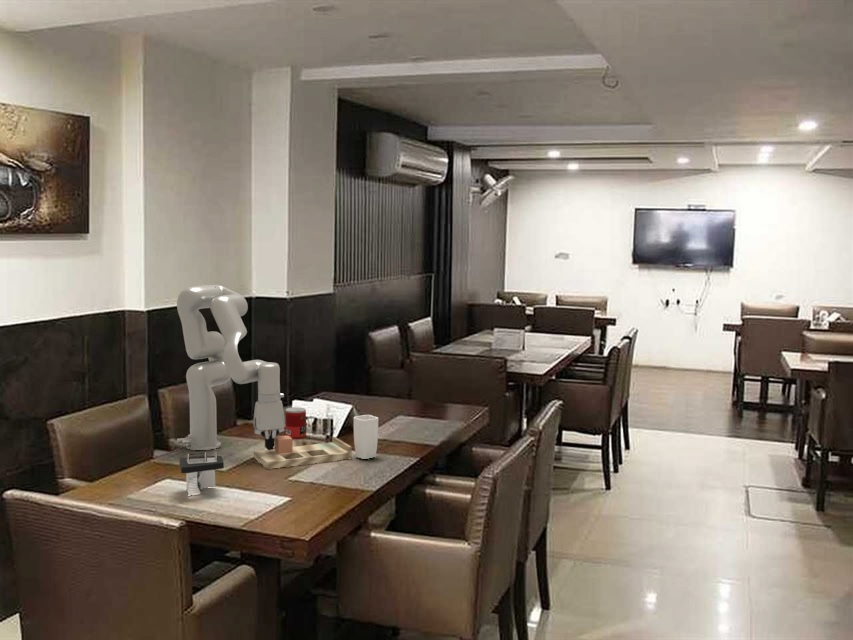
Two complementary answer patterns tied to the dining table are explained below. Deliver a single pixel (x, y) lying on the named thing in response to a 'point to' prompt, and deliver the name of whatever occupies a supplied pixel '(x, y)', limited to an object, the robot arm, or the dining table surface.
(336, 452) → the board
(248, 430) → the dining table surface
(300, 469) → the dining table surface
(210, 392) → the robot arm
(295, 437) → the canned food
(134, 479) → the dining table surface
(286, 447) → the block
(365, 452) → the cup
